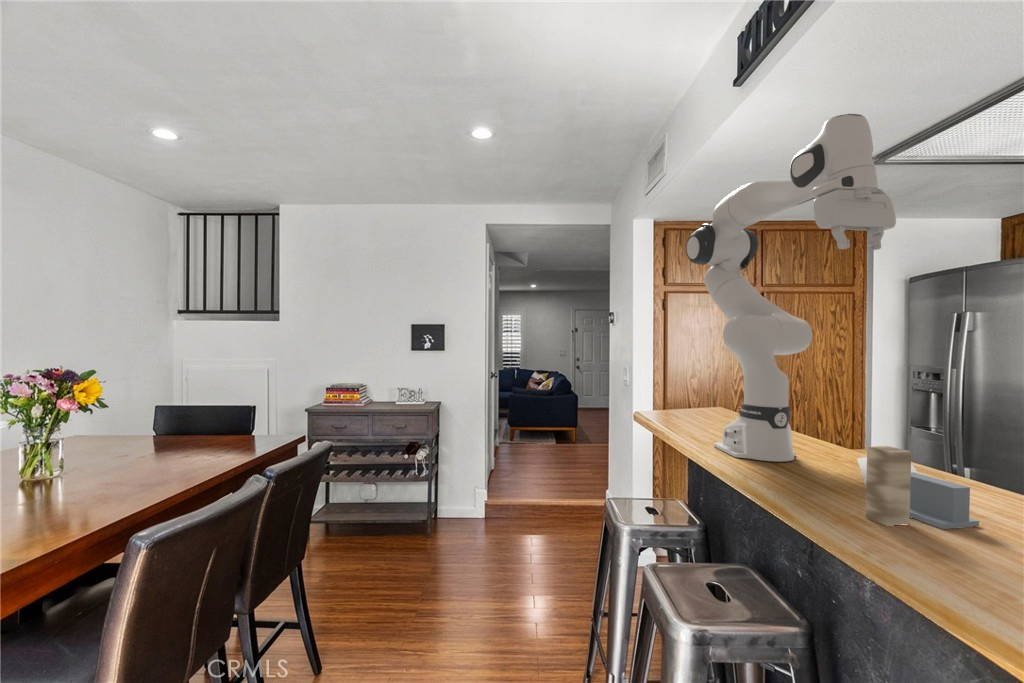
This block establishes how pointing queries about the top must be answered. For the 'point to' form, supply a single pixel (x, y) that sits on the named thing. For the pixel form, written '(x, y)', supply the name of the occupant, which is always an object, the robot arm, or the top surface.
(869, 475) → the ash post
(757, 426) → the robot arm
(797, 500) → the top surface
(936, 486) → the ridge block
